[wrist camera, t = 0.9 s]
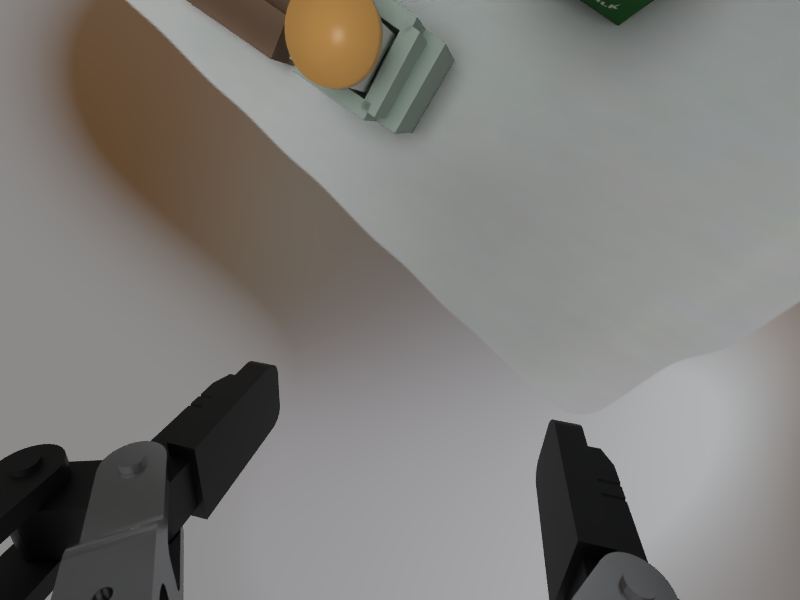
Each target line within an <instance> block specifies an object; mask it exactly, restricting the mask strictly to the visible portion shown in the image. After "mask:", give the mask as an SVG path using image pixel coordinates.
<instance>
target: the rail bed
mask: <svg viewBox="0 0 800 600" xmlns="http://www.w3.org/2000/svg"><path fill="white" fill-rule="evenodd" d="M187 1H188V2H190V3H191V4H192V5H194V6H195V7H197V8H198V9H200V10H201V11H202V12H204V13H205V14H207V15H208V16H210V17H211V18H213V19H214V20H215V21H217V22H218V23H220V24H221V25H223V26H224V27H226V28H227V29H228V30H230V31H231V32H233V33H234V34H236V35H237V36H239V37H240V38H241V39H243V40H244V41H246V42H247V43H249V44H250V45H252V46H253V47H254V48H256V49H257V50H259V51H260V52H262V53H263V54H265V55H266V56H267V57H269V58H270V59H273V60H276V61H279V62H283V63H286V64H289V65H292V66H295V64H293V63H294V62H293V61H292V60H291V59H290V54H289V51H288V48H287V44H286V40H285V16H286V12H287V8H288V5H289V2H290V0H187Z"/></svg>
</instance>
